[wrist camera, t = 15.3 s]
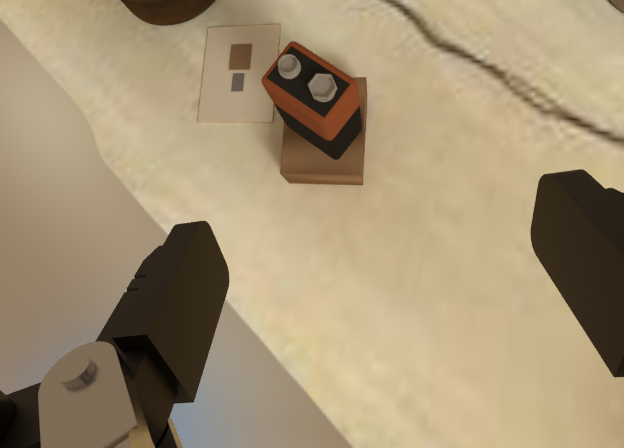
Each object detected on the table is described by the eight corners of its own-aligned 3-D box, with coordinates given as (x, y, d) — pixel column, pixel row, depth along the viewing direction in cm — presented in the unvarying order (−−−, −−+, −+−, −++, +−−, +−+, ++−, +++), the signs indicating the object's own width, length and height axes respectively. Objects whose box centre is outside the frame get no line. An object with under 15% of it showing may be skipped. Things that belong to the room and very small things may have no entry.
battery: (337, 163, 38) (322, 122, 28) (284, 125, 39) (253, 74, 30) (364, 128, 38) (359, 74, 28) (311, 91, 39) (288, 29, 30)
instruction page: (209, 28, 47) (207, 27, 47) (280, 25, 45) (280, 23, 45) (198, 122, 45) (197, 121, 45) (272, 122, 44) (271, 121, 44)
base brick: (296, 97, 44) (287, 79, 40) (367, 96, 42) (366, 77, 39) (289, 183, 42) (280, 173, 39) (362, 185, 41) (360, 175, 37)
